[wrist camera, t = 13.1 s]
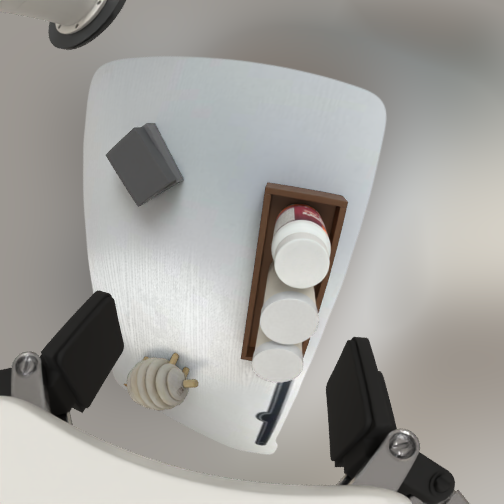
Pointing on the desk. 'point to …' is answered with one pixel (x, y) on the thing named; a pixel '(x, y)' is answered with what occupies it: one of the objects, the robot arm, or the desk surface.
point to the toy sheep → (159, 383)
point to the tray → (273, 204)
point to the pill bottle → (300, 246)
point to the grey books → (144, 163)
